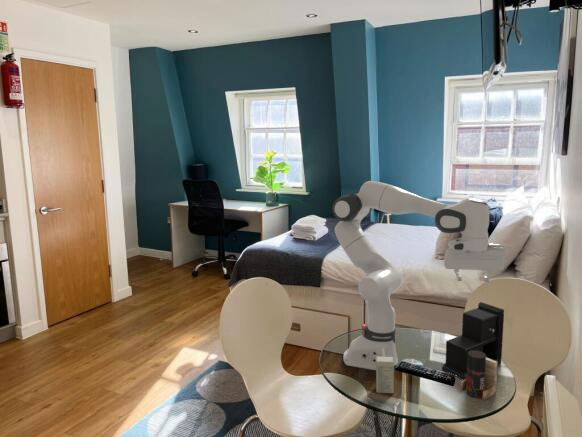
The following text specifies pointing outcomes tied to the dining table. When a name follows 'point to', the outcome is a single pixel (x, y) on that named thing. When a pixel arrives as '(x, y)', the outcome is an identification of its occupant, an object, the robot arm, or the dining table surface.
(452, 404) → the dining table surface
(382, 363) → the skincare box
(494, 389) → the rack
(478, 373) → the deodorant
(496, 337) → the bookend
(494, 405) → the dining table surface
